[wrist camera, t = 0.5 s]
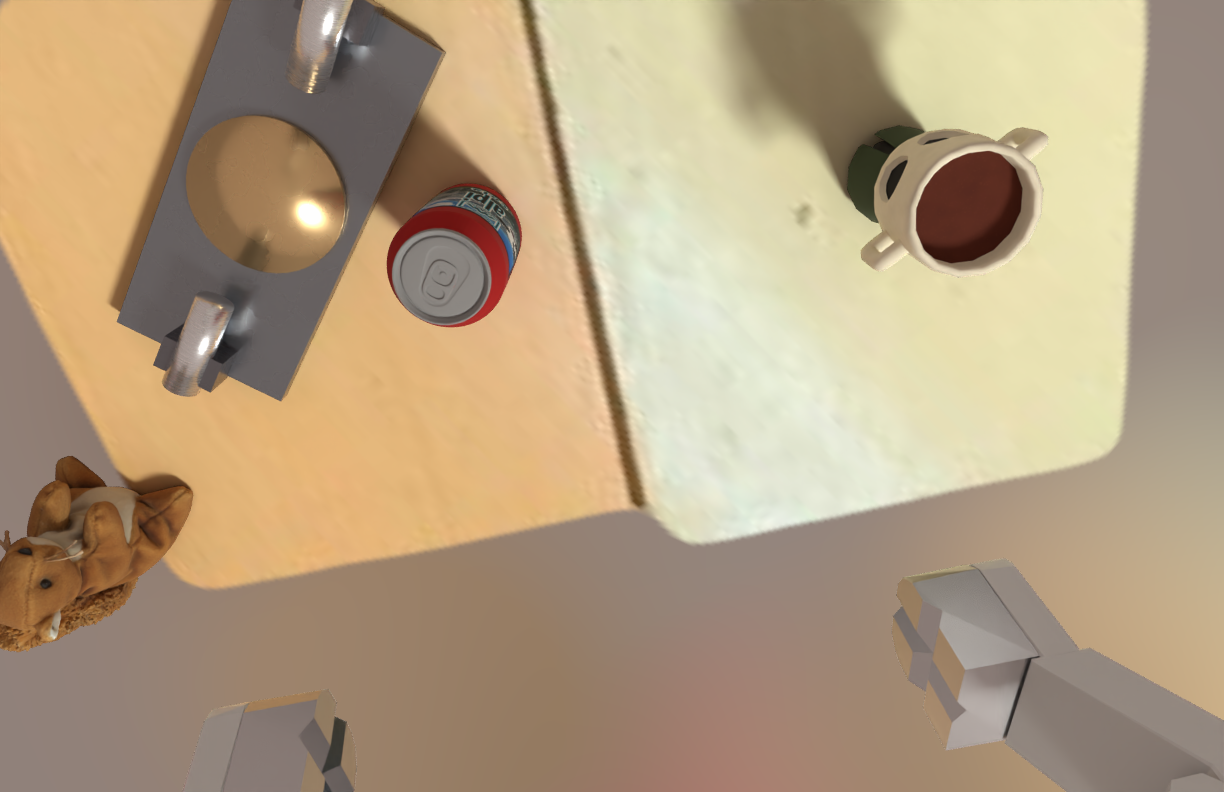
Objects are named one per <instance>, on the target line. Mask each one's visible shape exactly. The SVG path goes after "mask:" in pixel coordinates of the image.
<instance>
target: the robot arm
mask: <svg viewBox="0 0 1224 792" xmlns="http://www.w3.org/2000/svg"><path fill="white" fill-rule="evenodd" d="M896 596H897V598H898V599H899V601H900V603H901V605H902V607H901V608H900V609H899V610H898V611H897V612H896V613H895V614H894V616H893V623H892V637H893V642H894V648H895V652H896V654H897V657H898V660H899V663H900V665H901V667H902V669H903V671H904V673H905V675H906V677H907V679H908V680H909V681H910V682H912V683H913V684H915V685H916V686H918V687H919V688H921V689H922V690H924V691H925V692H926V694H925V698H924V704H923V709H924V711H925V713H926V715H927V717H928V719H929V720H930V722H931V724H932V726H933V728H934V730H935V732H936V733H937V735H938V737H939V739H940V741H941V743H942V745H943V746H944V748H945V750H950V749H956V748H962V747H967V746H973V745H979V744H985V743H990V742H995V741H1001V740H1006V741H1005V744H1006V745H1008V746H1009V747H1010V748H1012V749H1013V750H1014V751H1015V752H1017V753H1018V754H1019V755H1021V756H1022V757H1023V758H1024V759H1025V760H1027V761H1028V762H1029V763H1031V764H1032V765H1033V766H1034V767H1036V768H1037V769H1038V770H1040V771H1041V772H1042V773H1043V774H1045V775H1046V776H1047V777H1048V778H1050V779H1051V780H1052V781H1054V782H1055V783H1056V784H1057V785H1059V786H1060V787H1061V788H1063V789H1064V790H1065V791H1066V792H1224V720H1222V719H1220V718H1218V717H1216V716H1214V715H1212V714H1211V713H1209V712H1207V711H1205V710H1203V709H1201V708H1200V707H1198V706H1196V705H1194V704H1192V703H1191V702H1189V701H1187V700H1185V699H1183V698H1181V697H1179V696H1177V695H1176V694H1174V693H1172V692H1170V691H1168V690H1167V689H1165V688H1163V687H1161V686H1159V685H1158V684H1156V683H1154V682H1152V681H1150V680H1148V679H1146V678H1145V677H1143V676H1141V675H1139V674H1137V673H1135V672H1134V671H1132V670H1130V669H1128V668H1126V667H1124V666H1123V665H1121V664H1119V663H1117V662H1115V661H1113V660H1112V659H1110V658H1108V657H1106V656H1104V655H1102V654H1101V653H1099V652H1097V651H1095V650H1093V649H1091V648H1086V649H1079V648H1078V647H1077V645H1076V644H1075V643H1074V641H1073V640H1072V639H1071V638H1070V636H1069V635H1068V634H1067V633H1066V631H1065V630H1064V629H1063V627H1062V626H1061V625H1060V623H1059V622H1058V621H1057V620H1056V618H1055V617H1054V616H1053V614H1052V613H1051V612H1050V611H1049V609H1048V608H1047V607H1046V605H1045V604H1044V603H1043V601H1042V600H1041V599H1040V598H1039V596H1038V595H1037V594H1036V593H1035V591H1034V590H1033V589H1032V587H1031V586H1030V585H1029V583H1028V582H1027V581H1026V580H1025V578H1024V577H1023V576H1022V574H1021V573H1020V572H1019V571H1018V569H1017V568H1016V567H1015V566H1014V564H1013V563H1012V562H1010V561H1009V560H1007V559H1005V558H1003V559H996V560H991V561H986V562H982V563H977V564H972V565H961V566H957V567H952V568H947V569H942V570H938V571H932V572H928V573H923V574H918V575H914V576H909V577H903V578H902V579H901V581H900V582H899V583H898V588H897V594H896ZM336 704H337V702H336V701H335V699H334V697H333V696H332V694H331V692H330V691H329V689H325V690H319V691H313V692H307V693H301V694H295V695H289V696H283V697H277V698H271V699H265V700H259V701H253V702H247V703H242V704H236V705H231V706H225V707H220V708H214V709H212V711H211V712H210V714H209V715H208V717H207V718H206V719H205V721H204V723H203V726H202V730H201V733H200V736H199V739H198V742H197V746H196V749H195V752H194V756H193V759H192V762H191V765H190V768H189V772H188V775H187V778H186V781H185V785H184V788H183V791H182V792H354V790H355V781H356V772H357V765H356V747H355V743H354V739H353V736H352V732H351V730H350V728H349V726H348V724H347V722H346V721H344V720H342V719H339V718H337V717H335V711H336Z"/></svg>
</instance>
